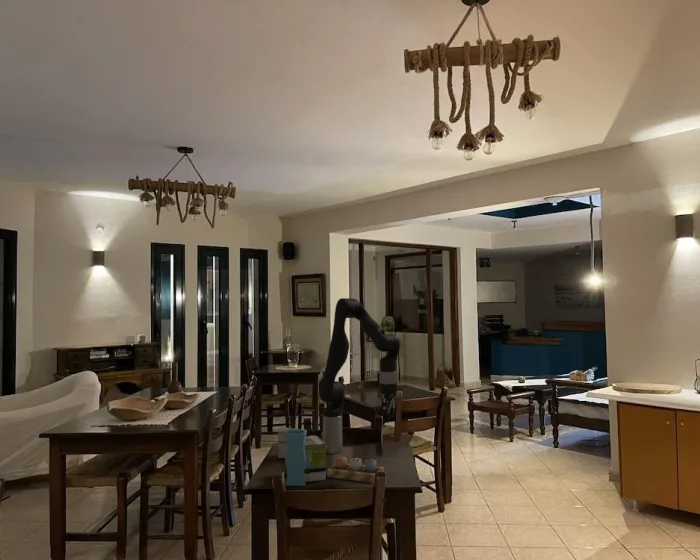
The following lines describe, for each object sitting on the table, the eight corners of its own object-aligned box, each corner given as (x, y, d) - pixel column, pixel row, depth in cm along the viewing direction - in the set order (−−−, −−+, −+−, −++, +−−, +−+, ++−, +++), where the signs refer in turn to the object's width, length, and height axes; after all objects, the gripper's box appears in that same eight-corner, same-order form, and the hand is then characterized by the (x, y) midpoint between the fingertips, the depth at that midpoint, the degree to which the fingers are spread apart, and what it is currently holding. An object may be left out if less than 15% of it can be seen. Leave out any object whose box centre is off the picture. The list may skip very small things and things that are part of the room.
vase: (288, 478, 217) (288, 429, 218) (307, 479, 217) (307, 429, 218) (285, 485, 210) (285, 434, 210) (305, 485, 209) (305, 434, 210)
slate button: (363, 472, 217) (363, 462, 217) (367, 468, 221) (366, 458, 222) (374, 473, 215) (374, 463, 215) (378, 470, 220) (377, 459, 220)
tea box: (326, 480, 216) (326, 443, 216) (302, 482, 212) (302, 445, 213) (316, 469, 230) (316, 434, 231) (294, 471, 227) (293, 436, 227)
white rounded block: (348, 470, 219) (348, 460, 219) (352, 467, 224) (352, 457, 224) (359, 472, 218) (359, 461, 218) (363, 468, 222) (363, 458, 222)
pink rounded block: (333, 469, 222) (333, 458, 222) (338, 465, 226) (338, 455, 226) (344, 470, 220) (344, 460, 220) (348, 466, 224) (348, 456, 225)
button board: (327, 477, 219) (327, 469, 219) (337, 469, 229) (337, 462, 230) (375, 482, 212) (375, 475, 212) (384, 474, 222) (384, 467, 222)
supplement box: (277, 458, 246) (277, 430, 247) (285, 453, 253) (285, 427, 254) (291, 459, 244) (291, 432, 244) (299, 455, 251) (299, 428, 251)
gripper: (384, 379, 235) (384, 416, 234) (375, 383, 222) (375, 423, 221) (400, 379, 233) (401, 417, 232) (392, 384, 219) (393, 424, 218)
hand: (389, 420), depth 226 cm, fingers open, 8 cm apart
